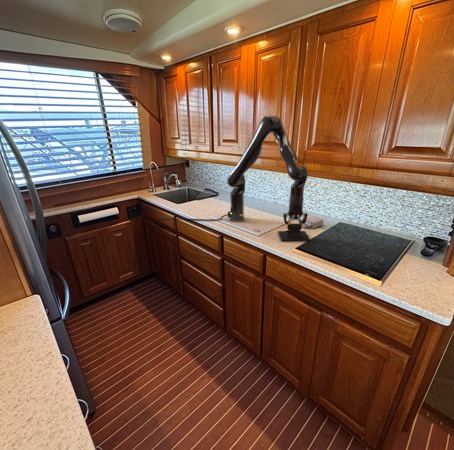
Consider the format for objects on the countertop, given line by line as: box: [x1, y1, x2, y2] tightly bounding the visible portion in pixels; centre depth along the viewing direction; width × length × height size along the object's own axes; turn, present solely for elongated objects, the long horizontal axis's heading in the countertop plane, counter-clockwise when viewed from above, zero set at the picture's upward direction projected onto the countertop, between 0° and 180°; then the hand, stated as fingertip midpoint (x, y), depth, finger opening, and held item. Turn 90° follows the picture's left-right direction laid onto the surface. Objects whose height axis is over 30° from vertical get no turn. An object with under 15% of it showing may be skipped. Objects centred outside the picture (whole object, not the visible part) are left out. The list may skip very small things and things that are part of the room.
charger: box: [302, 215, 324, 229], centre depth 155 cm, size 5×9×15 cm
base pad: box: [278, 229, 311, 242], centre depth 141 cm, size 16×12×2 cm
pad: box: [290, 222, 301, 233], centre depth 139 cm, size 6×6×4 cm
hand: (294, 229), depth 139 cm, fingers closed on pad, 5 cm apart
